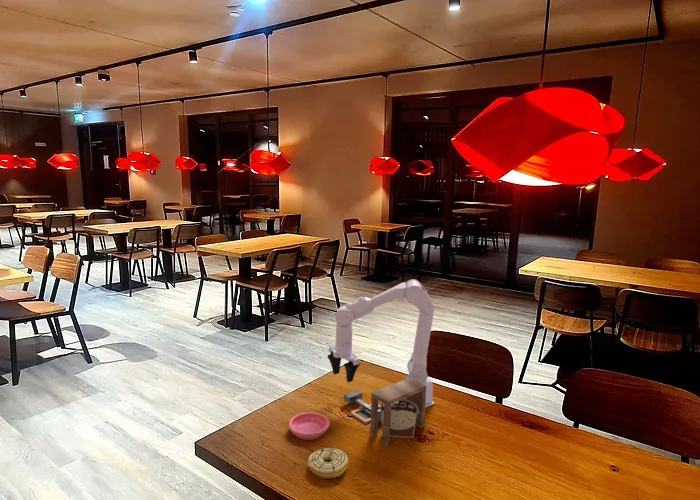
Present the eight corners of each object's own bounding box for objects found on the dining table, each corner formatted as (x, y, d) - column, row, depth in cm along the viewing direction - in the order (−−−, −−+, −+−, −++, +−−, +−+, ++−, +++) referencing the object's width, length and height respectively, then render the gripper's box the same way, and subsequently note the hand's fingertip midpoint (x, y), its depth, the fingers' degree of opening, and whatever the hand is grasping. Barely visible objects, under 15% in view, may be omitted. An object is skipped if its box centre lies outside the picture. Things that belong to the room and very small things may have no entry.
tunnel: (408, 417, 147) (410, 377, 145) (424, 427, 142) (426, 385, 139) (370, 435, 136) (371, 392, 134) (385, 446, 131) (387, 401, 129)
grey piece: (358, 395, 159) (359, 386, 159) (392, 415, 146) (392, 405, 146) (341, 402, 154) (341, 392, 154) (374, 423, 141) (374, 413, 141)
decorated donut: (320, 452, 127) (320, 440, 127) (353, 463, 123) (354, 451, 122) (301, 474, 118) (301, 461, 118) (336, 486, 114) (337, 473, 113)
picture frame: (374, 404, 155) (374, 402, 155) (389, 413, 149) (389, 411, 149) (350, 414, 148) (350, 411, 148) (365, 424, 142) (365, 421, 142)
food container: (417, 427, 141) (418, 398, 140) (418, 438, 135) (419, 408, 134) (378, 424, 142) (379, 395, 141) (377, 435, 136) (378, 405, 135)
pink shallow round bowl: (295, 447, 130) (295, 437, 129) (284, 425, 141) (284, 416, 141) (335, 437, 135) (335, 428, 134) (320, 417, 146) (321, 408, 146)
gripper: (322, 337, 157) (321, 373, 159) (348, 349, 146) (347, 388, 148) (337, 333, 161) (337, 368, 163) (364, 345, 150) (363, 382, 152)
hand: (343, 377), depth 156 cm, fingers open, 7 cm apart
